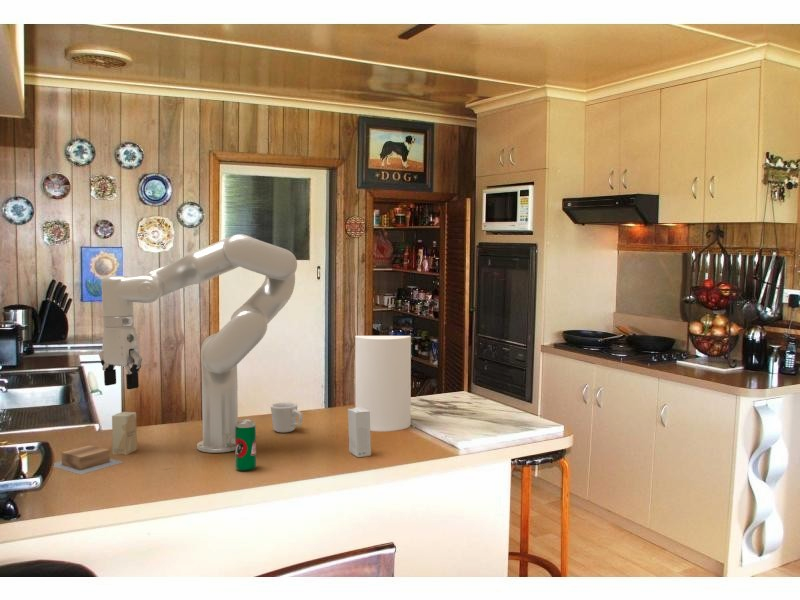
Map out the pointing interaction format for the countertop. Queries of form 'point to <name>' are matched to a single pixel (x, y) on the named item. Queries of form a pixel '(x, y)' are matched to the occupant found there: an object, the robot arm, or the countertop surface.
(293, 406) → the cup
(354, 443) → the skincare box
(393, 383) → the cylinder
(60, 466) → the slate mat
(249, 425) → the soda can
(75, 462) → the walnut plinth
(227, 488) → the countertop surface
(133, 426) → the box
